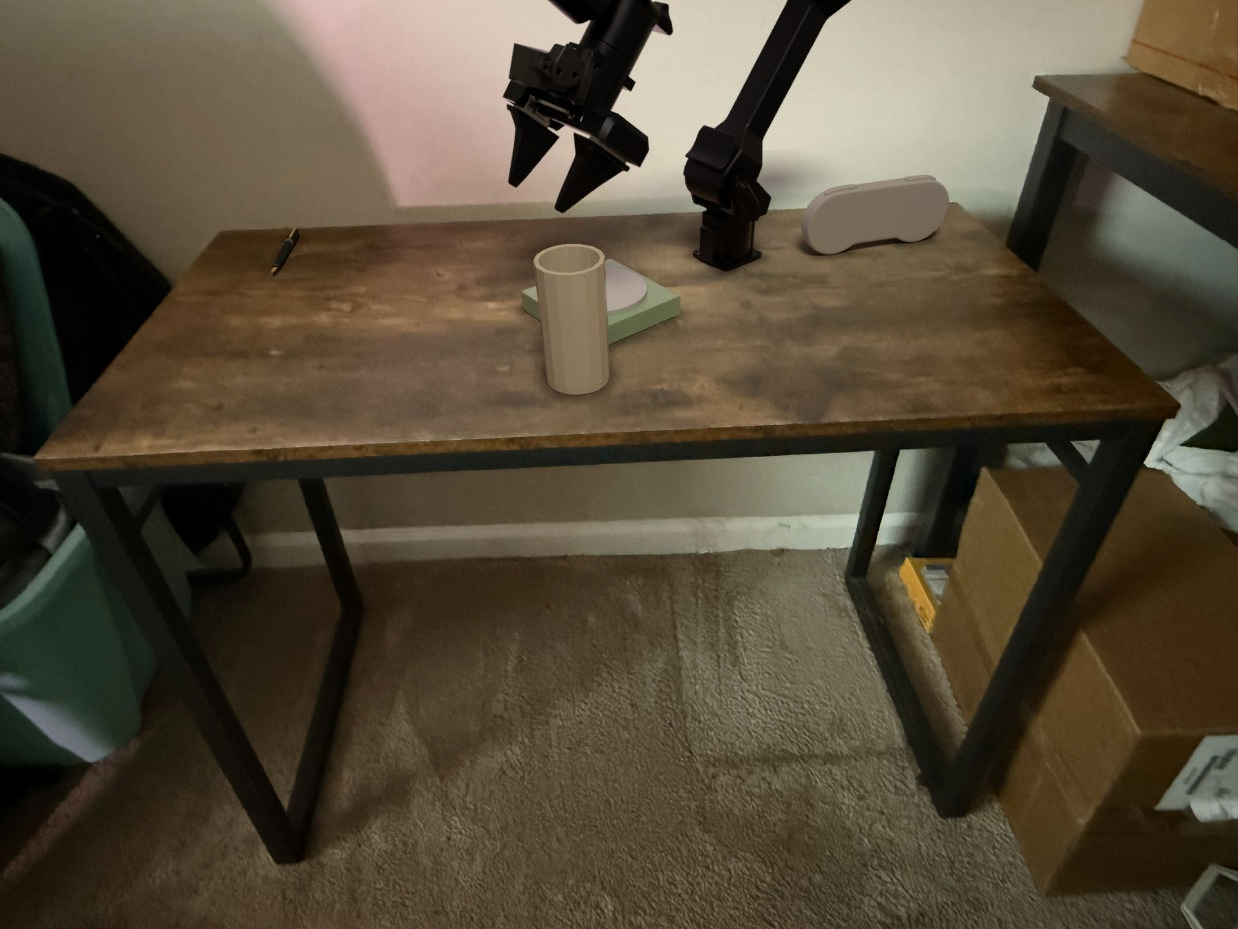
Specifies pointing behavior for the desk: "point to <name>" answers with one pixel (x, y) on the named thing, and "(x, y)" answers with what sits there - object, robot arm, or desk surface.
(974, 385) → the desk surface
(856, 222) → the game controller
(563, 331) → the cup
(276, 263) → the fountain pen
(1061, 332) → the desk surface
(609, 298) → the scale
